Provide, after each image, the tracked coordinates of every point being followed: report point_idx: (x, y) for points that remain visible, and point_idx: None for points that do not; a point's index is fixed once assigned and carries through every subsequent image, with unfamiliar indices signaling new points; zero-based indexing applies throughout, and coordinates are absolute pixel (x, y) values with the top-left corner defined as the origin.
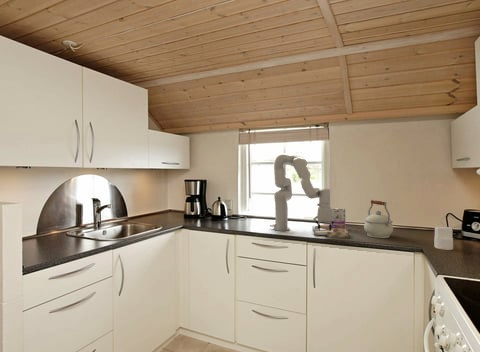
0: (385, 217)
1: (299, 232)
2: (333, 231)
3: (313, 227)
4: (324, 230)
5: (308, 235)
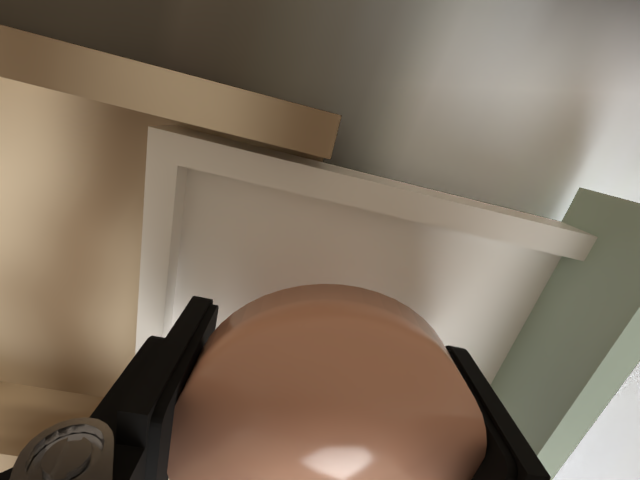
0: None
1: (634, 444)
2: None
3: None
4: None
5: None
